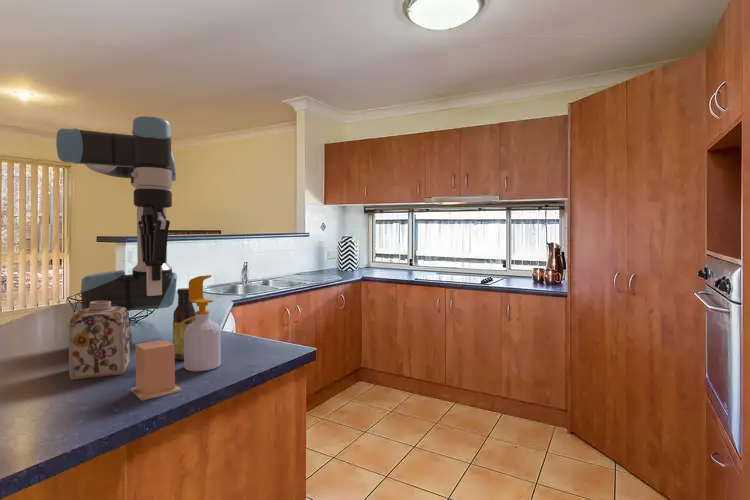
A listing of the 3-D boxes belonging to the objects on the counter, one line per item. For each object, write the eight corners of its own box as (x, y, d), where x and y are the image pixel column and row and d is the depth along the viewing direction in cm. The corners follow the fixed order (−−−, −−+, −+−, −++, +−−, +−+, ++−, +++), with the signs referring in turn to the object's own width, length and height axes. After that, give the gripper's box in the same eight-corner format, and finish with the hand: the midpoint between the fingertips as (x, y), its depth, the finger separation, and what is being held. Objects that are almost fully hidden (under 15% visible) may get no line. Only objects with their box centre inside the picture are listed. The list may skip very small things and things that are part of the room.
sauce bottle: (187, 361, 118) (186, 290, 117) (167, 359, 119) (166, 289, 118) (201, 354, 124) (201, 287, 123) (182, 353, 125) (182, 286, 125)
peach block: (136, 388, 95) (135, 344, 95) (164, 381, 100) (164, 339, 99) (145, 395, 91) (144, 349, 91) (175, 388, 95) (174, 344, 95)
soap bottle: (198, 374, 107) (197, 277, 106) (177, 368, 112) (176, 275, 111) (228, 365, 114) (227, 274, 114) (206, 359, 119) (205, 273, 118)
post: (130, 390, 95) (130, 358, 95) (167, 382, 101) (167, 352, 101) (142, 400, 90) (141, 366, 89) (181, 391, 95) (180, 359, 95)
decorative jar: (80, 366, 113) (79, 299, 112) (130, 361, 117) (129, 297, 117) (68, 381, 102) (66, 306, 101) (124, 375, 106) (122, 303, 106)
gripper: (125, 190, 96) (126, 293, 96) (144, 185, 86) (145, 300, 87) (160, 192, 101) (161, 290, 102) (181, 188, 92) (183, 296, 93)
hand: (154, 294), depth 95 cm, fingers closed
